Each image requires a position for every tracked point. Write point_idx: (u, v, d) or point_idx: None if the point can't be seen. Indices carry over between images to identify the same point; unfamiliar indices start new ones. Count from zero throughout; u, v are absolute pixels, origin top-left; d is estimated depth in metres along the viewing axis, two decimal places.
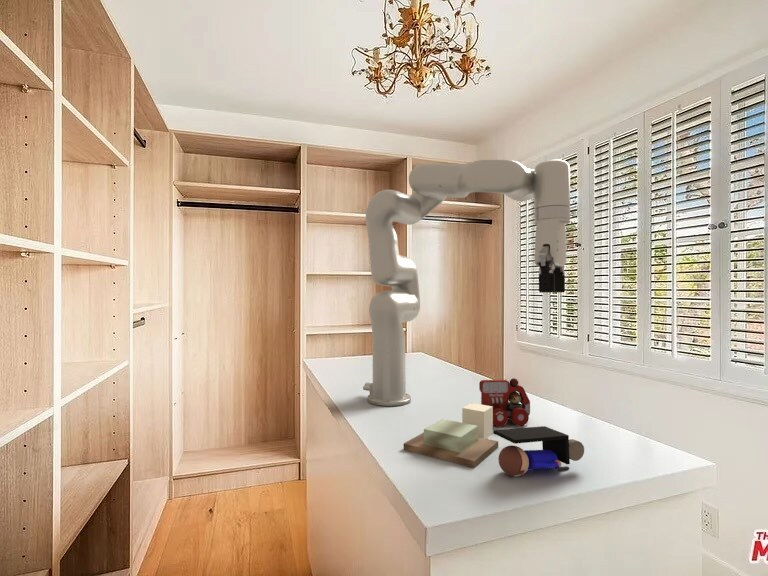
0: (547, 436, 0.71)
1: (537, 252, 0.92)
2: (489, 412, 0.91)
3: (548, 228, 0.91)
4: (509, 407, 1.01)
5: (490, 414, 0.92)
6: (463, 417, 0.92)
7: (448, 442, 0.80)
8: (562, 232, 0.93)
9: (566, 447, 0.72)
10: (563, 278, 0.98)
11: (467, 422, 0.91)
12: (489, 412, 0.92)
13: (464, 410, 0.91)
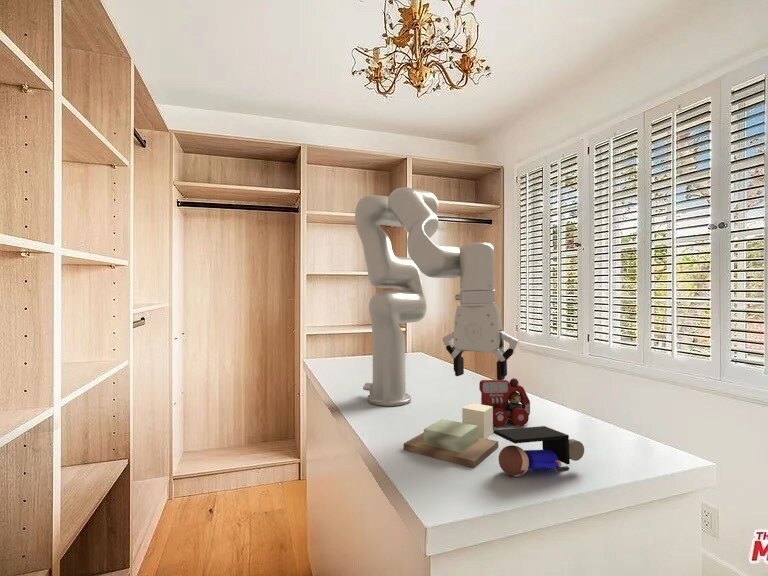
0: (547, 436, 0.71)
1: (498, 338, 0.88)
2: (489, 412, 0.91)
3: (499, 313, 0.90)
4: (509, 407, 1.01)
5: (490, 414, 0.92)
6: (463, 417, 0.92)
7: (448, 442, 0.80)
8: None
9: (566, 447, 0.72)
10: None
11: (467, 422, 0.91)
12: (489, 412, 0.92)
13: (464, 410, 0.91)
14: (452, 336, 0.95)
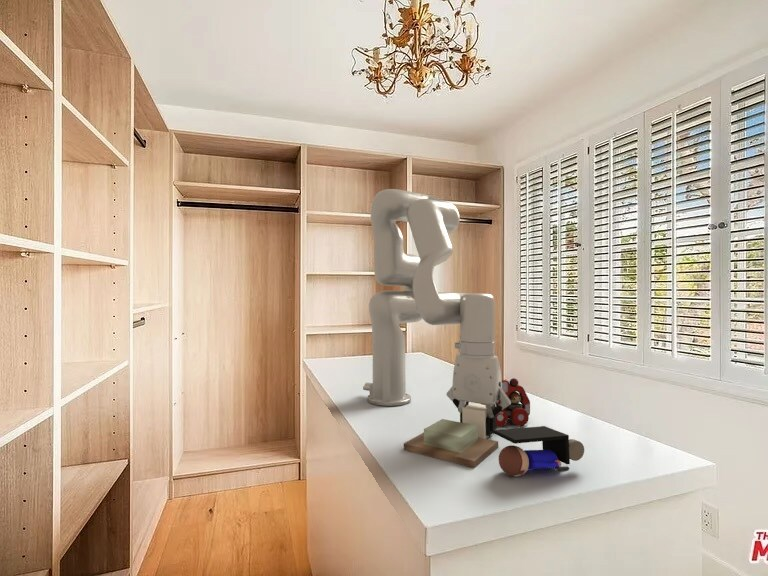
0: (547, 436, 0.71)
1: (496, 392, 0.88)
2: None
3: (498, 365, 0.90)
4: (509, 407, 1.01)
5: None
6: (463, 417, 0.92)
7: (448, 442, 0.80)
8: None
9: (566, 447, 0.72)
10: None
11: (467, 422, 0.91)
12: None
13: (464, 410, 0.91)
14: None
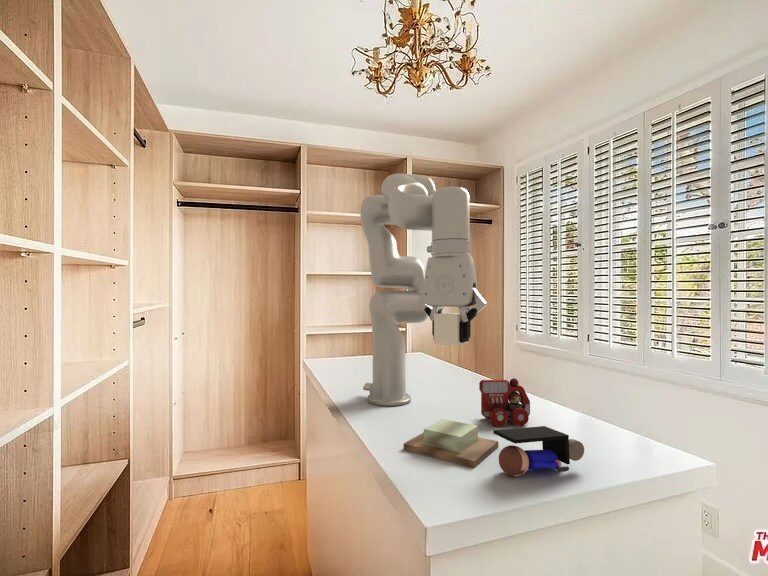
0: (547, 436, 0.71)
1: (470, 291, 0.80)
2: None
3: (473, 265, 0.82)
4: (509, 407, 1.01)
5: None
6: (435, 324, 0.83)
7: (448, 442, 0.80)
8: None
9: (566, 447, 0.72)
10: None
11: (439, 328, 0.83)
12: None
13: (436, 316, 0.83)
14: None
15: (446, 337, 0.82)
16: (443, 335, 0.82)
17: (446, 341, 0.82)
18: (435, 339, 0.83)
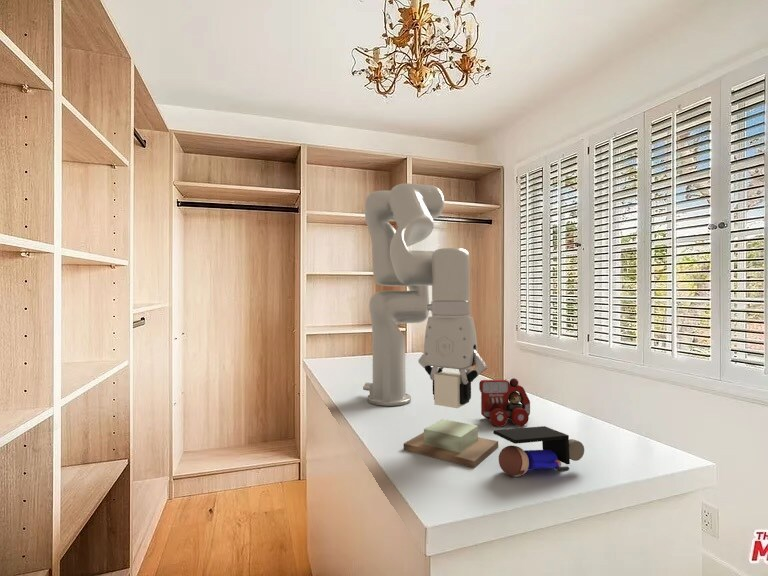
0: (547, 436, 0.71)
1: (470, 354, 0.80)
2: None
3: (473, 327, 0.82)
4: (509, 407, 1.01)
5: None
6: (435, 384, 0.83)
7: (448, 442, 0.80)
8: None
9: (566, 447, 0.72)
10: None
11: (439, 389, 0.83)
12: None
13: (436, 376, 0.83)
14: None
15: (447, 399, 0.82)
16: (443, 396, 0.82)
17: (446, 403, 0.82)
18: (435, 400, 0.83)
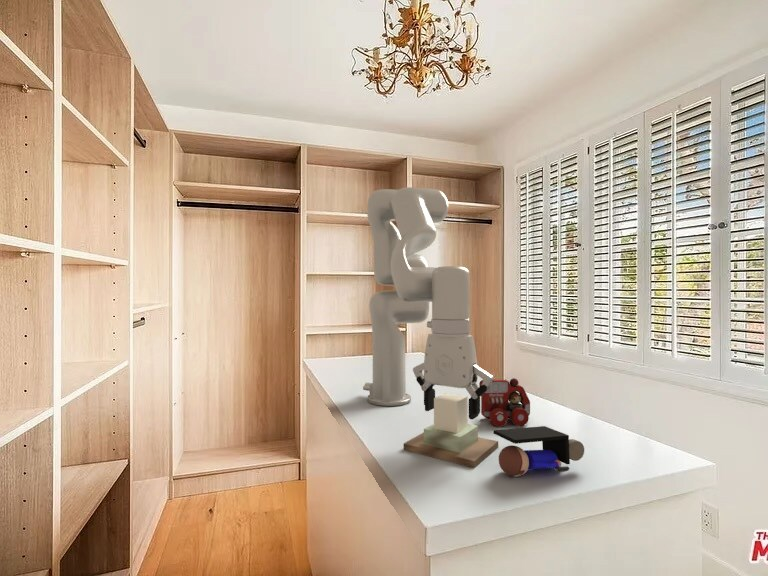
0: (547, 436, 0.71)
1: (470, 373, 0.80)
2: (463, 402, 0.83)
3: (473, 345, 0.82)
4: (509, 407, 1.01)
5: (464, 404, 0.83)
6: (435, 408, 0.83)
7: (448, 442, 0.80)
8: None
9: (566, 447, 0.72)
10: (434, 392, 0.88)
11: (439, 414, 0.83)
12: (464, 402, 0.83)
13: (436, 400, 0.83)
14: (423, 367, 0.87)
15: (446, 423, 0.82)
16: (443, 420, 0.82)
17: (446, 427, 0.82)
18: (435, 424, 0.83)
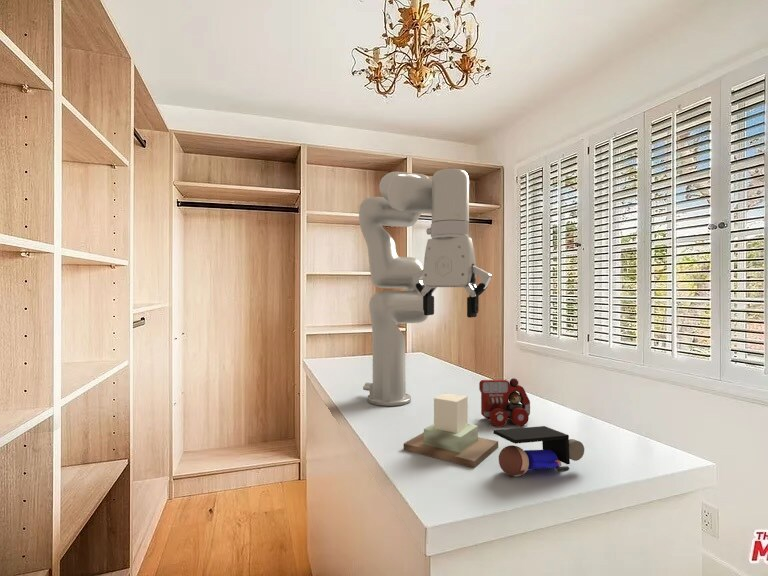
0: (547, 436, 0.71)
1: (469, 272, 0.81)
2: (463, 402, 0.83)
3: (472, 246, 0.83)
4: (509, 407, 1.00)
5: (464, 404, 0.83)
6: (435, 408, 0.83)
7: (448, 442, 0.80)
8: None
9: (566, 447, 0.72)
10: (433, 299, 0.89)
11: (439, 414, 0.83)
12: (464, 402, 0.83)
13: (436, 400, 0.83)
14: (422, 273, 0.88)
15: (446, 423, 0.82)
16: (443, 420, 0.82)
17: (446, 427, 0.82)
18: (435, 424, 0.83)
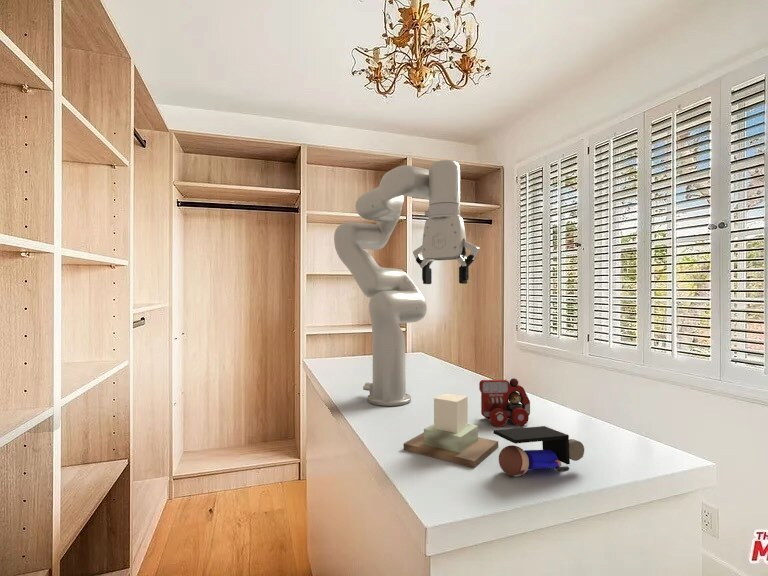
0: (547, 436, 0.71)
1: (460, 245, 0.97)
2: (463, 402, 0.83)
3: (463, 225, 0.99)
4: (509, 407, 1.01)
5: (464, 404, 0.83)
6: (435, 408, 0.83)
7: (448, 442, 0.80)
8: None
9: (566, 447, 0.72)
10: (431, 271, 1.05)
11: (439, 414, 0.83)
12: (464, 402, 0.83)
13: (436, 400, 0.83)
14: (421, 249, 1.05)
15: (446, 423, 0.82)
16: (443, 420, 0.82)
17: (446, 427, 0.82)
18: (435, 424, 0.83)
